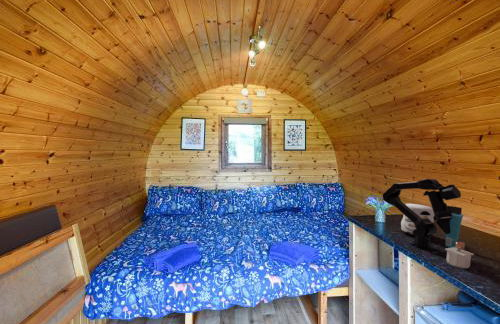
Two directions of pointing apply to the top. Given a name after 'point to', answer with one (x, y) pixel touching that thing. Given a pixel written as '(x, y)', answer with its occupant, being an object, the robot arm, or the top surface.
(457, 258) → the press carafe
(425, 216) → the milk container
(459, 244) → the plunger
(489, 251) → the top surface
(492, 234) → the top surface
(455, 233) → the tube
